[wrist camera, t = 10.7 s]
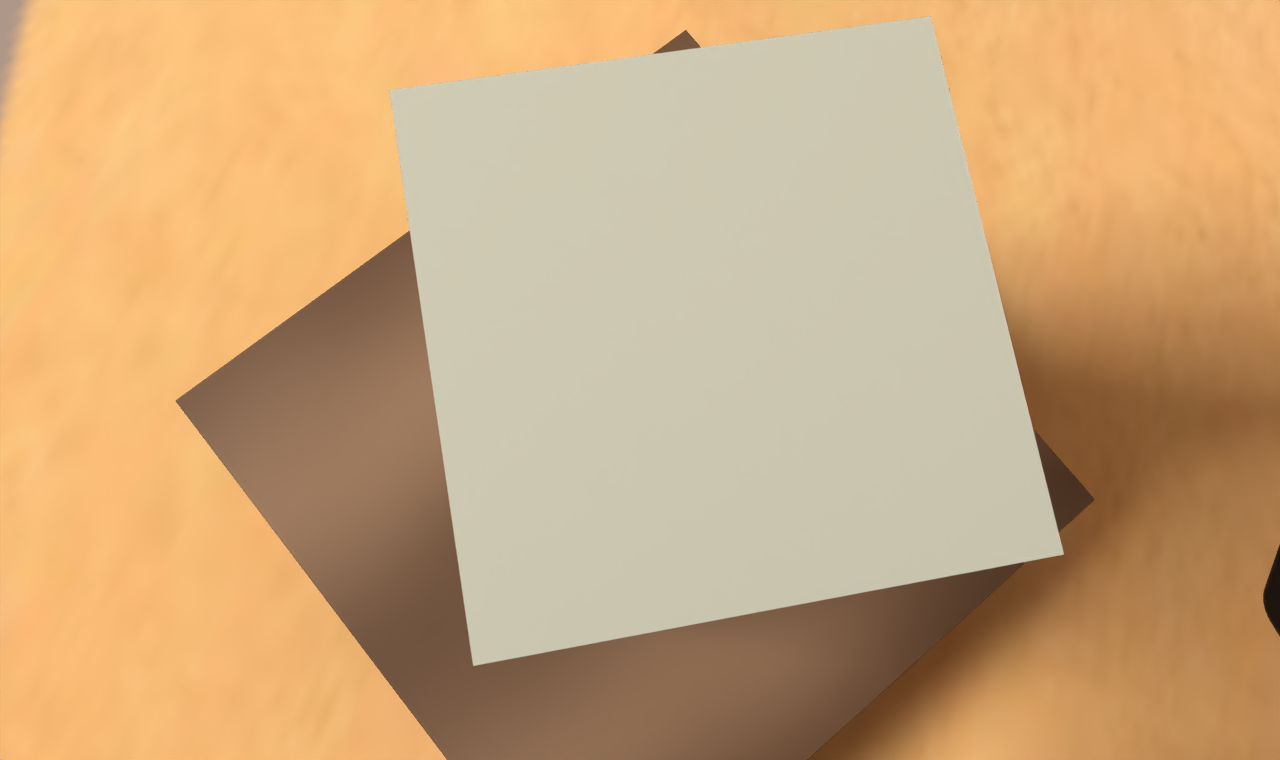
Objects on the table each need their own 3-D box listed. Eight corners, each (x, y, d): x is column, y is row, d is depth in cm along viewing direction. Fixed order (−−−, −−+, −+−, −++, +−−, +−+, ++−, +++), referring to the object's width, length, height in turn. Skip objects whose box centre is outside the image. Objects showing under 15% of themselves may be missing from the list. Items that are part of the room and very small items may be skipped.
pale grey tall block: (804, 561, 18) (1064, 555, 9) (530, 612, 18) (472, 665, 8) (751, 298, 19) (931, 16, 9) (488, 340, 19) (389, 88, 9)
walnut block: (1015, 510, 22) (1094, 499, 19) (590, 889, 20) (593, 952, 17) (669, 109, 24) (685, 30, 20) (239, 428, 22) (175, 400, 18)
